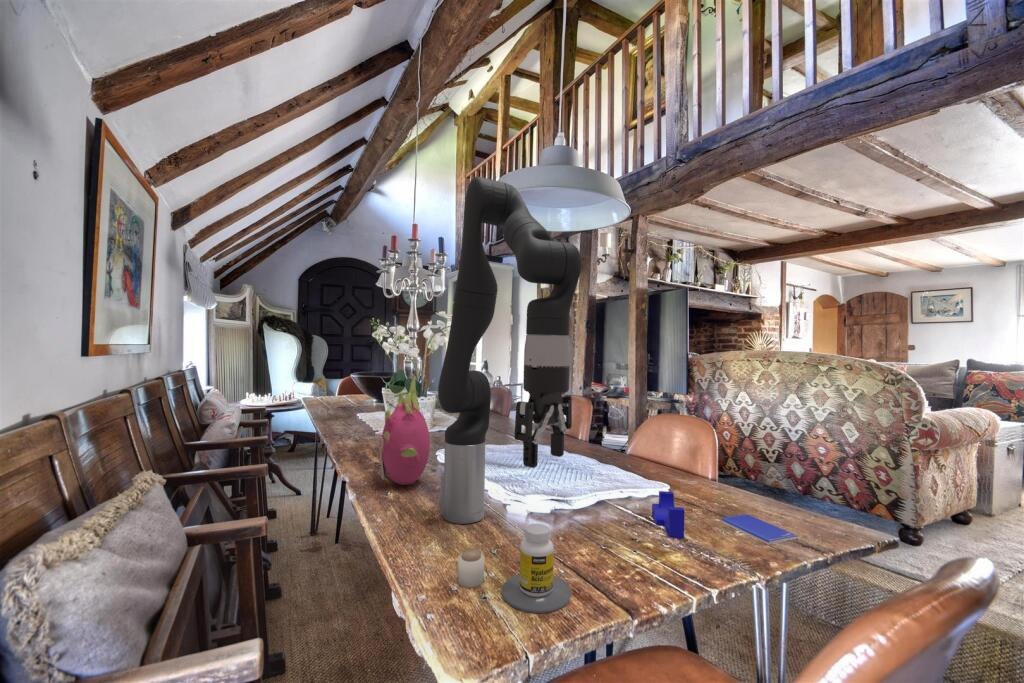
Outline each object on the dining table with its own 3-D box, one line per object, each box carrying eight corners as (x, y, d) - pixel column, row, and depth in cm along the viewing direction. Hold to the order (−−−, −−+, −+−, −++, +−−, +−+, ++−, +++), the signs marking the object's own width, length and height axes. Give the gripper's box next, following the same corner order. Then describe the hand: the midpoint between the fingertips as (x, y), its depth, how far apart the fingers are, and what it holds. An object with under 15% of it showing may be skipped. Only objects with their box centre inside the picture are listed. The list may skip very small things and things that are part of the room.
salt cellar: (452, 582, 78) (452, 553, 78) (469, 571, 82) (469, 544, 82) (472, 590, 76) (473, 560, 75) (489, 579, 79) (489, 550, 79)
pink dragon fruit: (377, 476, 136) (379, 373, 136) (425, 473, 140) (426, 373, 140) (379, 496, 119) (381, 379, 119) (433, 492, 123) (435, 378, 123)
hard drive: (798, 534, 97) (748, 513, 109) (768, 540, 94) (721, 517, 106) (797, 542, 97) (748, 520, 109) (768, 547, 94) (721, 524, 106)
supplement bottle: (529, 601, 71) (530, 537, 71) (513, 584, 76) (514, 524, 76) (559, 593, 74) (560, 531, 74) (542, 577, 79) (543, 519, 79)
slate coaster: (488, 597, 73) (488, 593, 73) (525, 569, 83) (525, 566, 83) (549, 622, 67) (549, 617, 67) (582, 588, 76) (582, 585, 76)
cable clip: (651, 516, 109) (652, 490, 109) (671, 517, 109) (672, 491, 109) (661, 537, 98) (662, 508, 98) (684, 539, 97) (684, 510, 97)
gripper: (549, 360, 85) (546, 449, 85) (502, 363, 73) (500, 466, 73) (586, 362, 80) (584, 456, 81) (543, 365, 69) (541, 475, 69)
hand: (544, 461), depth 77 cm, fingers open, 8 cm apart
